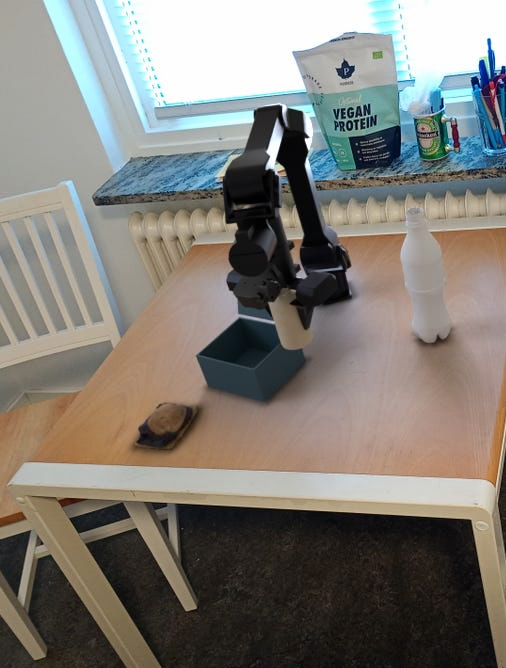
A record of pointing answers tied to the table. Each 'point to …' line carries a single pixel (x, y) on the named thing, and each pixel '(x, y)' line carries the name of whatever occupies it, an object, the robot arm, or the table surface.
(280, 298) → the candle
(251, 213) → the robot arm
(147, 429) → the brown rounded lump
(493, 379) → the table surface
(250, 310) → the flap
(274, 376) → the carton
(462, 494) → the table surface
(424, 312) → the water bottle
